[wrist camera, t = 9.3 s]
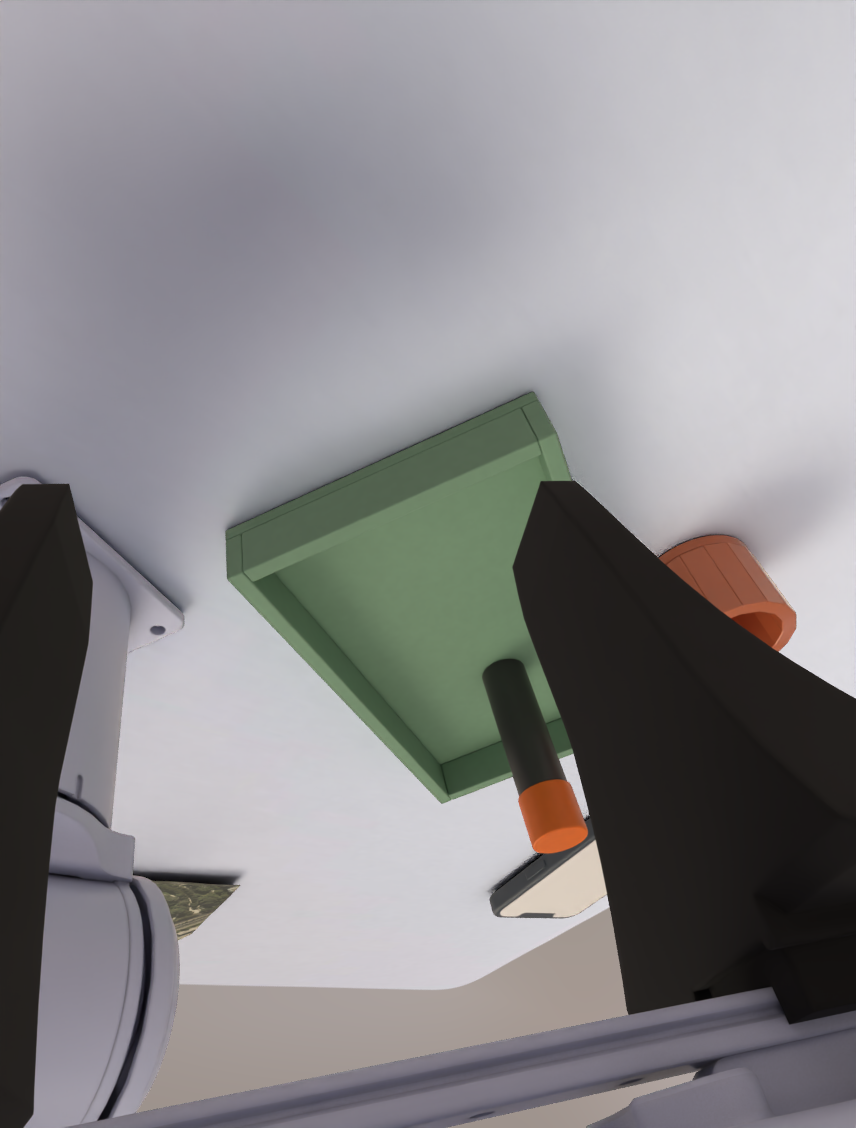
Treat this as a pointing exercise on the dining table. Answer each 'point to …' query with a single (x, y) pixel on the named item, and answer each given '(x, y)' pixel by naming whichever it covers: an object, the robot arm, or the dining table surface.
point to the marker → (533, 760)
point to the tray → (414, 589)
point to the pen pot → (735, 585)
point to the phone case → (554, 884)
